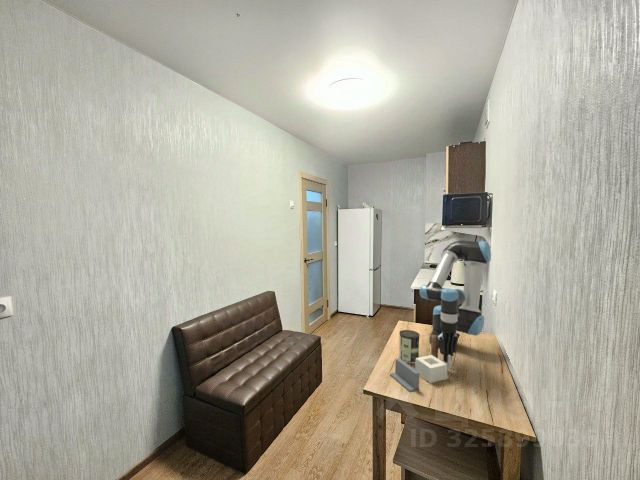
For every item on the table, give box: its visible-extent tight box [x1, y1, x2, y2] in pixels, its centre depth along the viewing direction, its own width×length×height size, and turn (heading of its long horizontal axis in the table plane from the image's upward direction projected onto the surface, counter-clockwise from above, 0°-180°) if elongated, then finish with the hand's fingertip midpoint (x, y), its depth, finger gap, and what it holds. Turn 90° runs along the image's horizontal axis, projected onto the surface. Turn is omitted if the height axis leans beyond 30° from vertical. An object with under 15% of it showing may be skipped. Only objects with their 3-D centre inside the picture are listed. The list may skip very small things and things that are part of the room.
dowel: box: [430, 335, 439, 359], centre depth 138 cm, size 3×3×16 cm
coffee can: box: [398, 329, 420, 364], centre depth 146 cm, size 10×10×14 cm
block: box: [414, 354, 448, 384], centre depth 130 cm, size 10×10×7 cm
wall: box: [389, 357, 420, 393], centre depth 124 cm, size 5×14×8 cm, turn 21°
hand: (447, 367), depth 133 cm, fingers closed
